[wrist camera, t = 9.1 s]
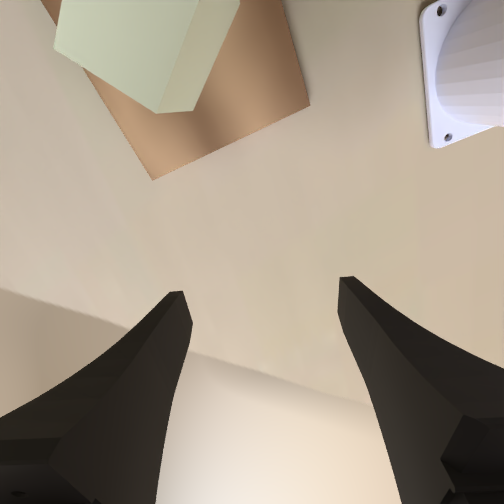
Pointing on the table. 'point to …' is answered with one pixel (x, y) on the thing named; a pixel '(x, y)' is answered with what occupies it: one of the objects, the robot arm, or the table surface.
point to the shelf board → (217, 93)
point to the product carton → (147, 45)
